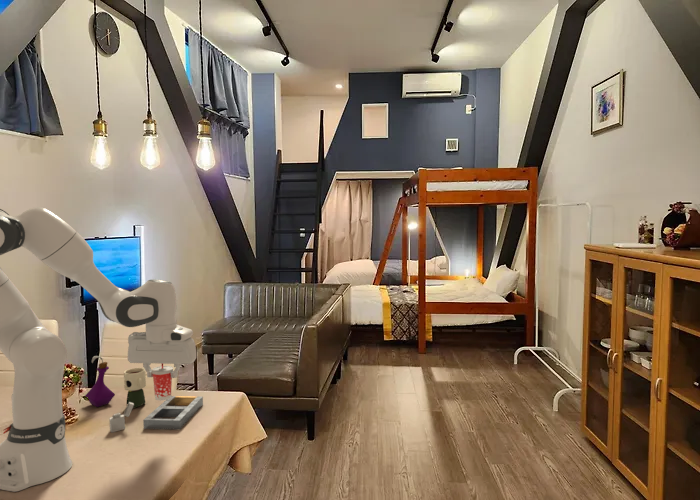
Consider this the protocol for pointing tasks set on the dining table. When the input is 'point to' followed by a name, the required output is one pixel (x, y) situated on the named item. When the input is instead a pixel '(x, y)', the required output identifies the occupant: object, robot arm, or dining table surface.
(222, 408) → the dining table surface
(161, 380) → the beverage cup
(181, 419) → the gray divided tray
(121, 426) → the lighter
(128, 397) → the character mug
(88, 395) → the perfume bottle
